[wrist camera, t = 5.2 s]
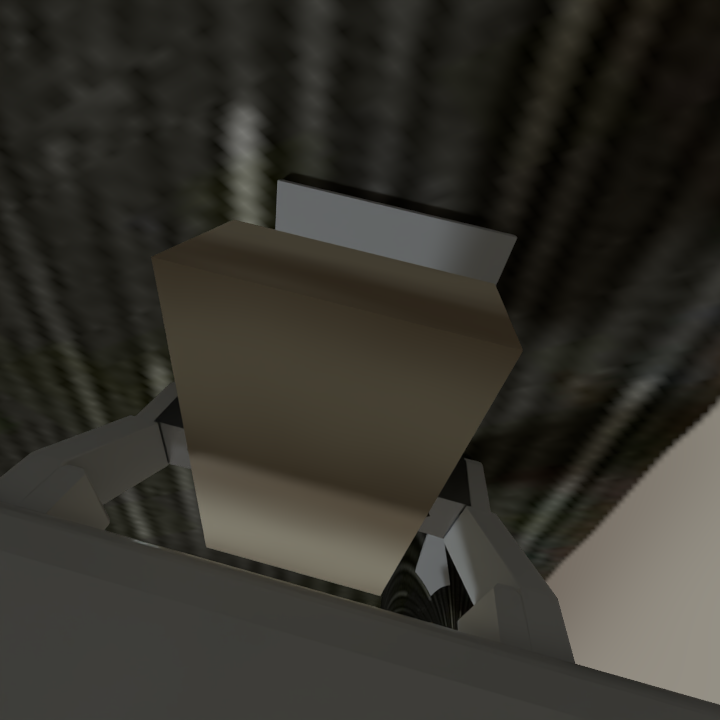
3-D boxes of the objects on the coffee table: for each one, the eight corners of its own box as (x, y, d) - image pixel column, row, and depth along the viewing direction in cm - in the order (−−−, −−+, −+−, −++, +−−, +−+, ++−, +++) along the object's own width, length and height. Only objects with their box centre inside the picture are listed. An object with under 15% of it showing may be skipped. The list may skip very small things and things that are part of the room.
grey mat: (282, 179, 17) (277, 180, 16) (514, 234, 16) (517, 237, 16) (272, 367, 24) (269, 372, 23) (437, 410, 23) (437, 416, 23)
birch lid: (233, 219, 8) (151, 257, 6) (494, 283, 8) (522, 350, 6) (243, 478, 15) (206, 546, 12) (388, 517, 14) (379, 595, 12)
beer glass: (469, 431, 24) (517, 748, 11) (494, 493, 27) (554, 798, 14) (380, 450, 26) (338, 725, 14) (412, 504, 29) (401, 771, 17)
